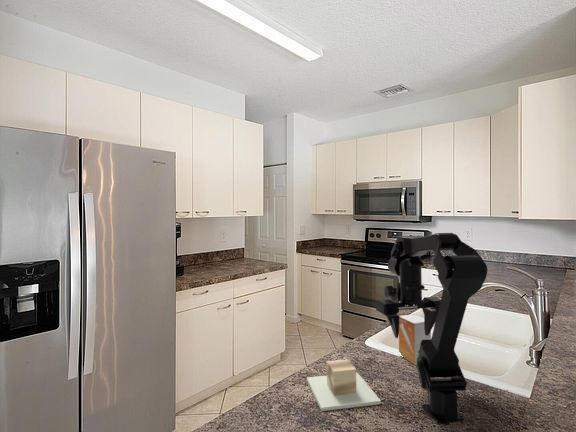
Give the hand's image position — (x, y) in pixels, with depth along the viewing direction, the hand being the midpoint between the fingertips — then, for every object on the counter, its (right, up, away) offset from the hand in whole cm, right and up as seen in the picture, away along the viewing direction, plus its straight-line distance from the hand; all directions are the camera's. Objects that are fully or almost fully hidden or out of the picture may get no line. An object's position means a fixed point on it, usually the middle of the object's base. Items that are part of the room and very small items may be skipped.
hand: (411, 336), depth 92 cm
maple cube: (-21, -12, -6) cm, 24 cm away
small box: (+6, -12, +13) cm, 19 cm away
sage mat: (-21, -12, -6) cm, 25 cm away
